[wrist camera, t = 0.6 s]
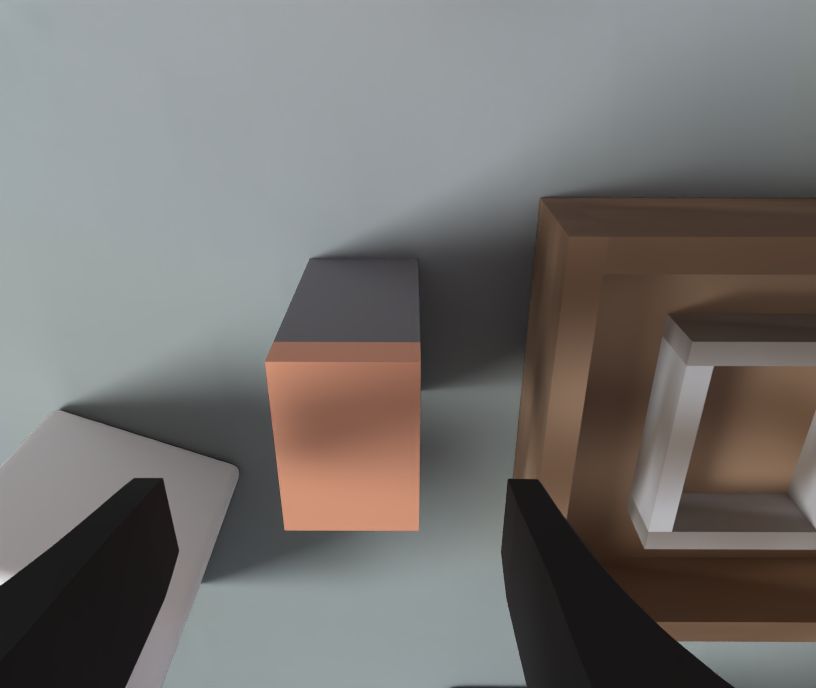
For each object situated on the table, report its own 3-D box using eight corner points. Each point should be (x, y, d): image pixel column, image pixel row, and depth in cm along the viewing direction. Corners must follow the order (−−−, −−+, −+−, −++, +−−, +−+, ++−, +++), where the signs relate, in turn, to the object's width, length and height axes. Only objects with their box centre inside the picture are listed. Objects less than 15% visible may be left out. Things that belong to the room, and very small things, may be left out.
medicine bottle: (29, 539, 26) (-241, 902, 15) (53, 403, 23) (-262, 737, 12) (199, 586, 27) (61, 954, 16) (243, 463, 24) (109, 814, 13)
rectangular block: (416, 391, 23) (418, 531, 16) (319, 390, 23) (284, 530, 16) (417, 258, 20) (420, 362, 14) (309, 258, 20) (264, 361, 14)
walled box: (865, 557, 26) (938, 642, 22) (505, 556, 26) (520, 640, 23) (1028, 198, 19) (1168, 237, 16) (540, 197, 19) (569, 236, 16)
